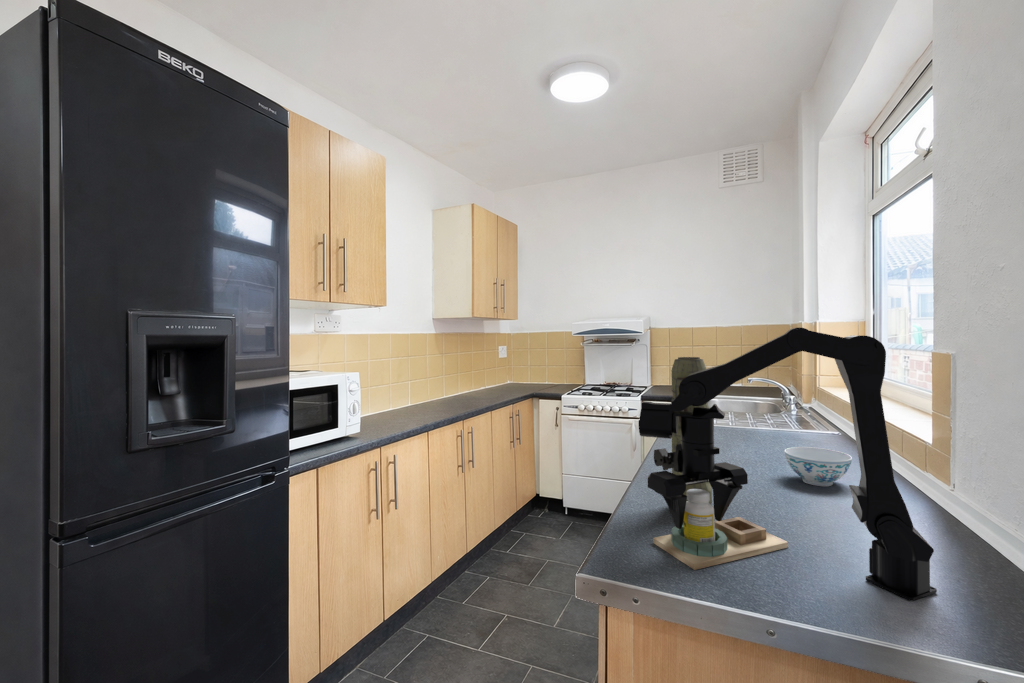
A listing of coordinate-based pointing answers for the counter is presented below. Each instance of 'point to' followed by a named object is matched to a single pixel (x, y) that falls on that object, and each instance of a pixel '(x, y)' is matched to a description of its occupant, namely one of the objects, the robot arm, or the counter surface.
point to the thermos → (678, 373)
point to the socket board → (721, 543)
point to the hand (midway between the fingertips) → (698, 524)
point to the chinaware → (818, 464)
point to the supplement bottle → (699, 517)
